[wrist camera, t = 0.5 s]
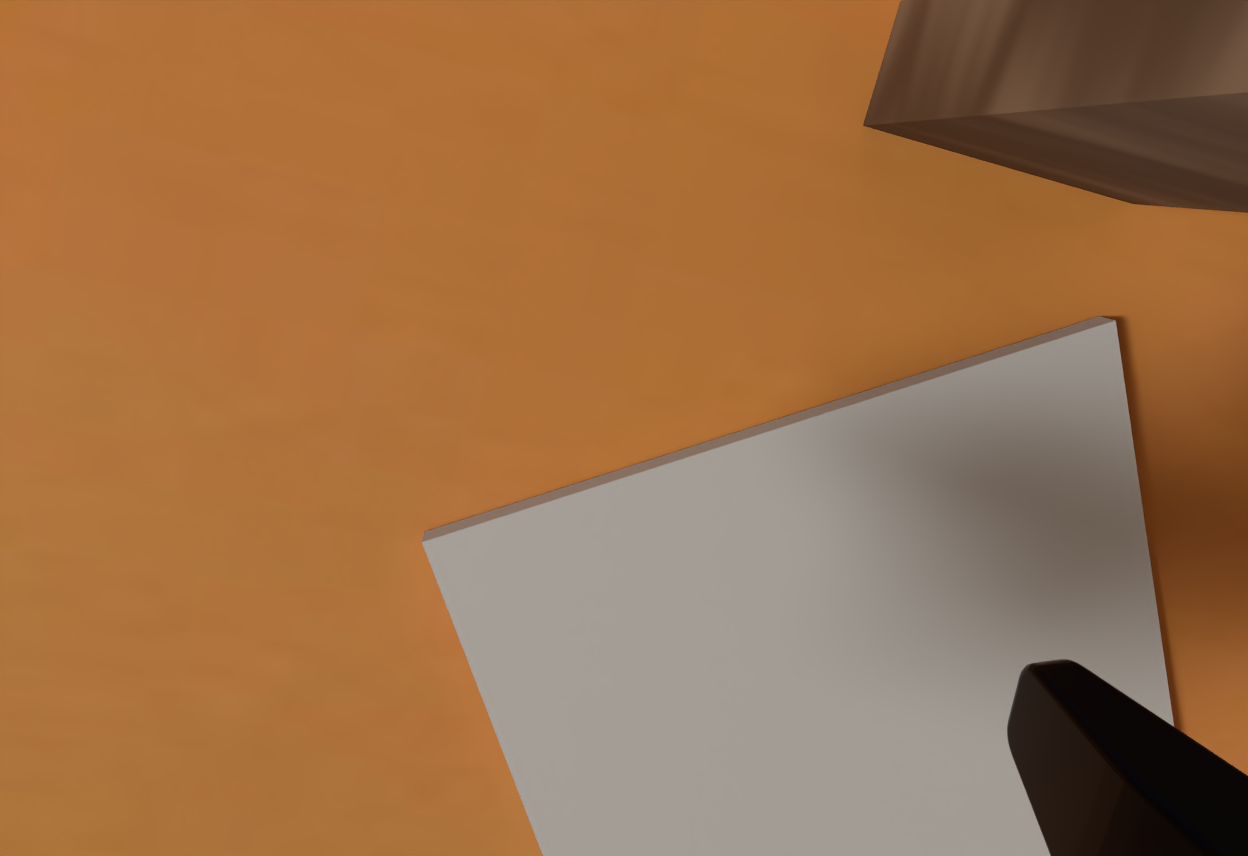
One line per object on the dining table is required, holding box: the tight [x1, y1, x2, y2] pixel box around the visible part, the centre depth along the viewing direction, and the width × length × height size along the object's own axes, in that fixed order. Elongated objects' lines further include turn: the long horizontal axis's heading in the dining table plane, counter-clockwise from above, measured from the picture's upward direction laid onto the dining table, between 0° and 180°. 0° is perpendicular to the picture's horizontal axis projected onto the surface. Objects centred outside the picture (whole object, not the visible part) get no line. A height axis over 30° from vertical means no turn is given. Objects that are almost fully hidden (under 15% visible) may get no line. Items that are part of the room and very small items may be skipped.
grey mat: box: [422, 316, 1174, 856], centre depth 24 cm, size 18×16×1 cm
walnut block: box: [863, 0, 1248, 213], centre depth 15 cm, size 2×6×12 cm, turn 75°
